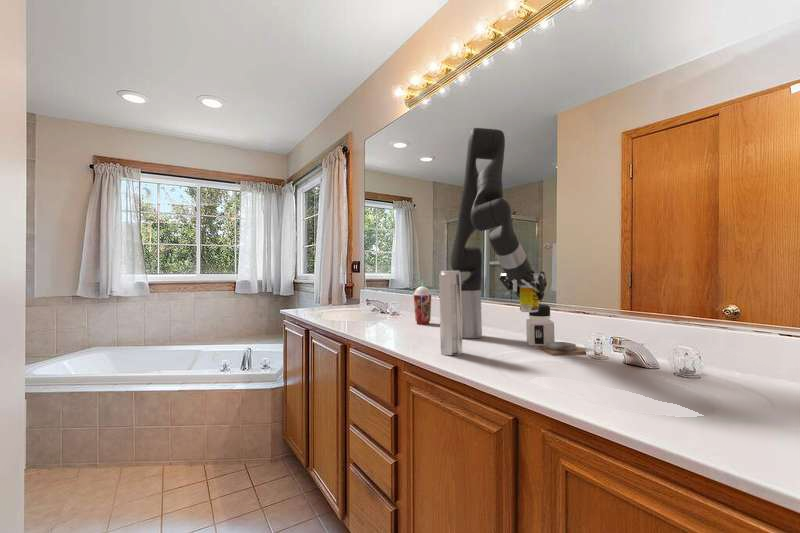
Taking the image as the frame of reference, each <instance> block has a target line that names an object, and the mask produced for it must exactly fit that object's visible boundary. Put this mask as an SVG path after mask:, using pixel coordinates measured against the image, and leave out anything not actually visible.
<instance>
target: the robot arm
mask: <svg viewBox="0 0 800 533" xmlns="http://www.w3.org/2000/svg"><path fill="white" fill-rule="evenodd" d="M505 146H506V138H505V133H504V131H502V130H500V129H496V128H483V127H473V128H472V129H471V131H470V132H469V136H468V141H467V147H466V148H467V151H466V161H465V170H464V179H463V184H462V185H463V186H462V191H461V197H460V203H459V210H458V220H457V225H456V230H455V237H454V240H453V245H452V250H451V254H450V266H451V269H452V271H460V273H469V275H468V276H467V277H466V278H465V279H461V304H462V339H477V338H478V339H480V338H482V337H483V327H482V326H483V322H482V321H483V320H482V319H483V318H482V271H483V270H482V269H483V268H482V267H483V256H482V255H483V254H482V251H481V249H480V247H478V246H466V245H467V242H468V241H469V239H470V237H471V236H472V235H473V233H474V232H475V231H476V230H478V231H479V232H480V231H481V232H482V231H488V230H490V229H491V230H492V229H493V230H492V231H491V232H490V233H489V235H488V240H489V242H490V243H489V244H490V245H491V246H492V249H493V251H494V253H495V256H496V257H497V258H496V259H497V261H498V262H499V264H500V266H501V268H502V270H503V271H502V272H501V273H500V274H499V277H498V279H499V281H500V282H501V283H502V284H503V286H504V287H505V288H506V289H507V291H513V292H515V294H516V296H517V297H518V298H519V299H520V285H527V286H528V287H529V288H530V289H531V288H532V289H533V290H534V291H535V292H536V294H537V297H538V299H539V301H542V300H543V299H544V297H545V290H546V288H547V286H548V285H547V283H548V282H547V277H546V274H545V273H546V272H544V271H540V273H539V272H535V271H534V269H532V267H531V263H530V261H529V258H528V256H527V255H526V252H525V251H524V248H523V246H522V245H521V243H520V241H519V240H518V237H517V235H516V233H515V231H514V227H513V221H512V210H511V206H510V203H509V202H508V201H507V200H506V199H504V198H503V196H504V191H503V190H504V189H503V181H502V180H503V167H504V157H505ZM477 159H478V160H489V161H490V162H488V164H487V165H486V166H484V167H483V168H482V169H481V171H480V173H479V171H478V169H477ZM531 282H532V283H531ZM535 285H536V286H537V287H536V286H535Z"/></svg>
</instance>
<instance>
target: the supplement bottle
mask: <svg viewBox="0 0 800 533" xmlns="http://www.w3.org/2000/svg"><path fill="white" fill-rule="evenodd" d="M531 283H532V282H531ZM535 286H536V285H535ZM519 287H520V298H519V311H520V312H523V313H529V312H538V311H539V304H540V302H539V301H540V300H539V299H538V297H537V294H536V292H535V291H534V290H533V289H532V288H531V289H530V288H529V287H528V286H527V285H519ZM536 287H537V286H536Z"/></svg>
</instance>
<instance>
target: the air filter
mask: <svg viewBox="0 0 800 533" xmlns="http://www.w3.org/2000/svg"><path fill="white" fill-rule="evenodd" d="M438 276H439V277H438V278H439V279H438V282H439V283H438V288H439V290H438V292H439V326H440V327H439V329H440V330H439V332H440V333H439V336H440V338H439V339H440V354H441V355H443V354H444V356H448V355H456V356H461V355H462V354H463V352H464V351H463V338H462V304H461V281H462V272H460V271H454V270H441V271H440V273H439V274H438Z"/></svg>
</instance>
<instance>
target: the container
mask: <svg viewBox="0 0 800 533" xmlns="http://www.w3.org/2000/svg"><path fill="white" fill-rule="evenodd" d="M525 322H526V323H525V324H526V326H525V327H526V330H525V331H526V342H527V344H528V346H530V347H538V346H539V345H547V343H549V342H556V341H555V322H554V321H553V320H551V307H550V306H549V305H548V304H543V303H541V304H540V303H539V311H538V312H528V318H527V319H526V320H525Z"/></svg>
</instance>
